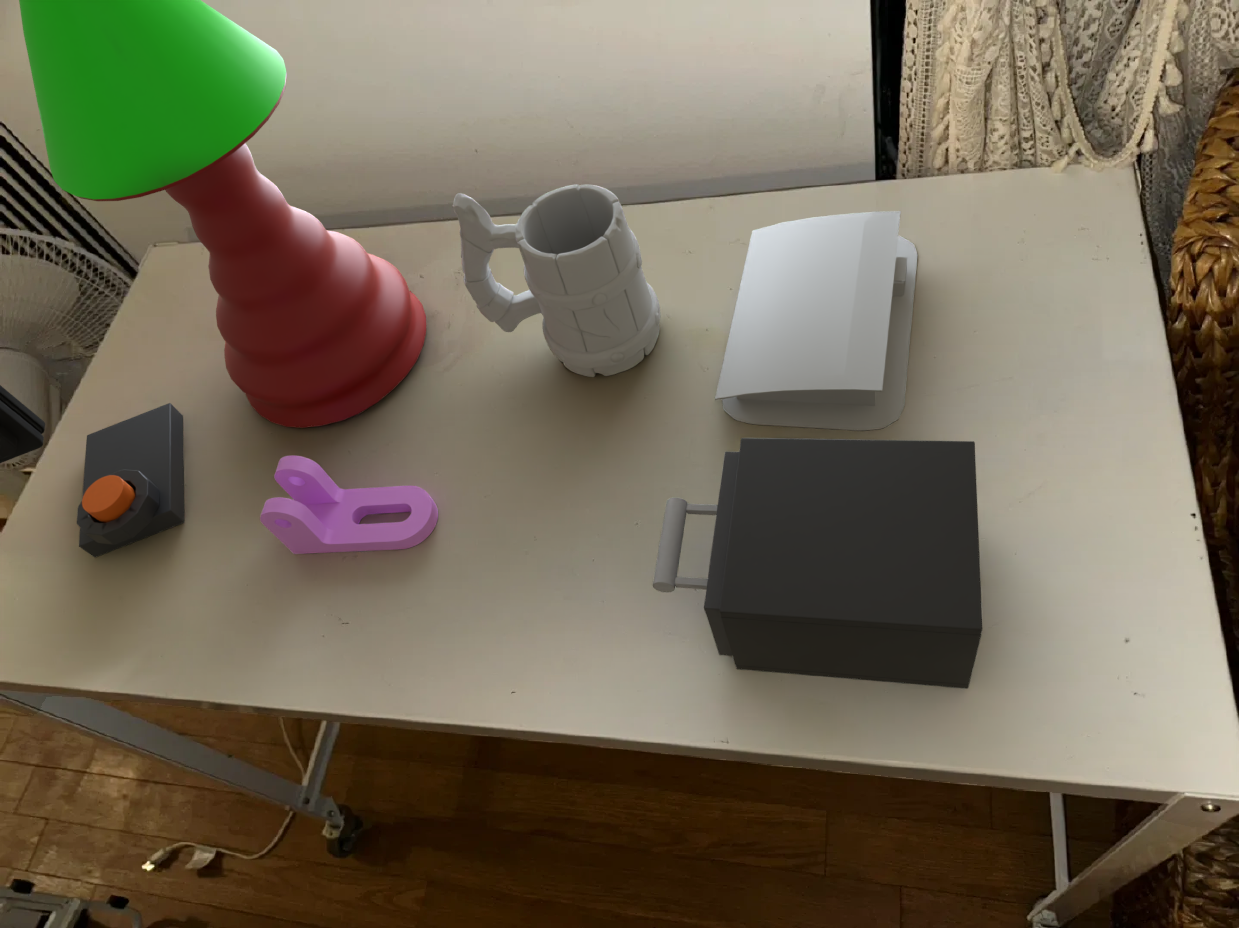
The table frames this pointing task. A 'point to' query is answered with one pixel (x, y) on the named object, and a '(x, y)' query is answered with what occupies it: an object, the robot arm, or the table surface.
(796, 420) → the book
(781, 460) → the dark grey drawer cabinet
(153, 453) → the control block
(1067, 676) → the table surface
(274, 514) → the bracket
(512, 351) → the table surface
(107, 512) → the button
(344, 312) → the table lamp
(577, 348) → the mug
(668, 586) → the dark grey drawer
